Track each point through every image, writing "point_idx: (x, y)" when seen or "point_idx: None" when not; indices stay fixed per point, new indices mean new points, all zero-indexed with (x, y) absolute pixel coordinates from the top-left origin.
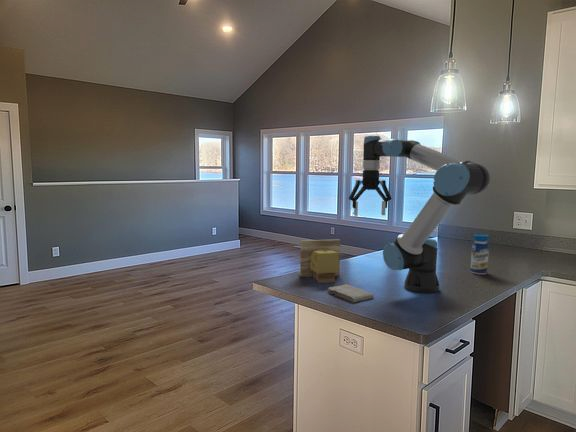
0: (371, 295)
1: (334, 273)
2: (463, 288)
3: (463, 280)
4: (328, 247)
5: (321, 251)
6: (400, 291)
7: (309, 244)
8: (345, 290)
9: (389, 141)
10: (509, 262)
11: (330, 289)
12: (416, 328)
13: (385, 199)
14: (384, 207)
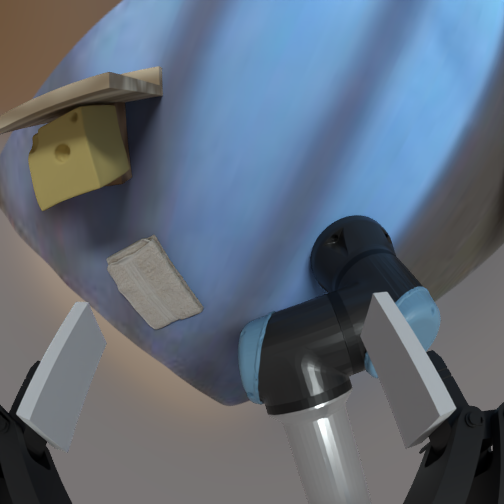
0: (197, 313)
1: (121, 177)
2: (427, 262)
3: (466, 208)
4: (74, 103)
5: (48, 168)
6: (287, 271)
7: (6, 128)
8: (142, 291)
9: None
10: None
11: (111, 275)
12: (227, 398)
13: (427, 461)
14: (391, 393)
